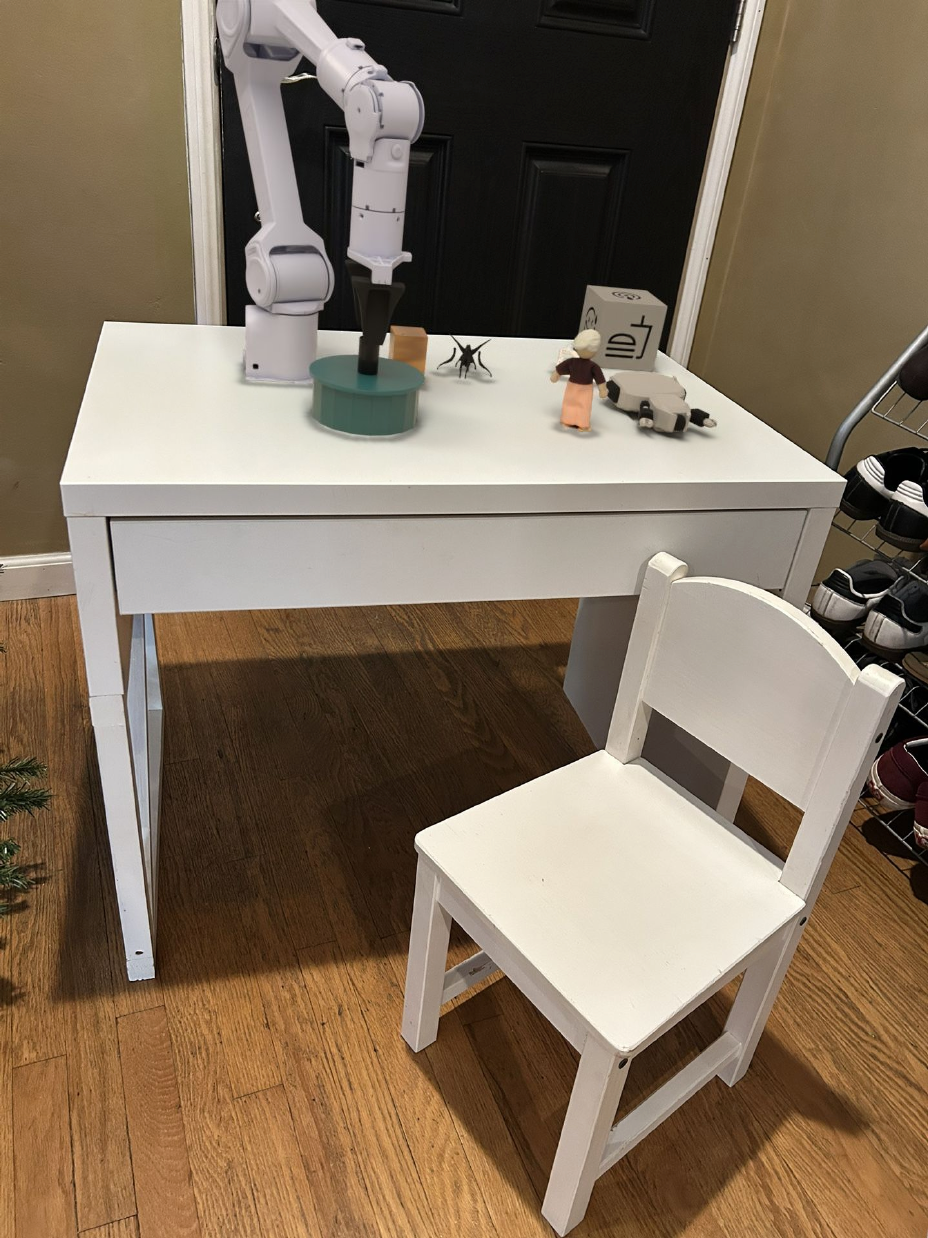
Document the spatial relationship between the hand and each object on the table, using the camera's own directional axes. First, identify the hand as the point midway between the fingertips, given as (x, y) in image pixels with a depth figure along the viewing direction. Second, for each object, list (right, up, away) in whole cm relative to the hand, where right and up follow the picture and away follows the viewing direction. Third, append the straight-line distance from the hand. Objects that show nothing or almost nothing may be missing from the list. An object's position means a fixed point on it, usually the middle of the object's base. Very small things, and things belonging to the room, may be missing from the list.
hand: (369, 334), depth 109 cm
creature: (+11, +2, +26) cm, 28 cm away
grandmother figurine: (+24, -9, +12) cm, 29 cm away
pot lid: (-1, -4, +3) cm, 5 cm away
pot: (-1, -9, +5) cm, 10 cm away
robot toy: (+36, -6, +19) cm, 41 cm away
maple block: (+3, -1, +20) cm, 20 cm away
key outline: (+27, +4, +34) cm, 43 cm away
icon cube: (+35, +9, +43) cm, 56 cm away
